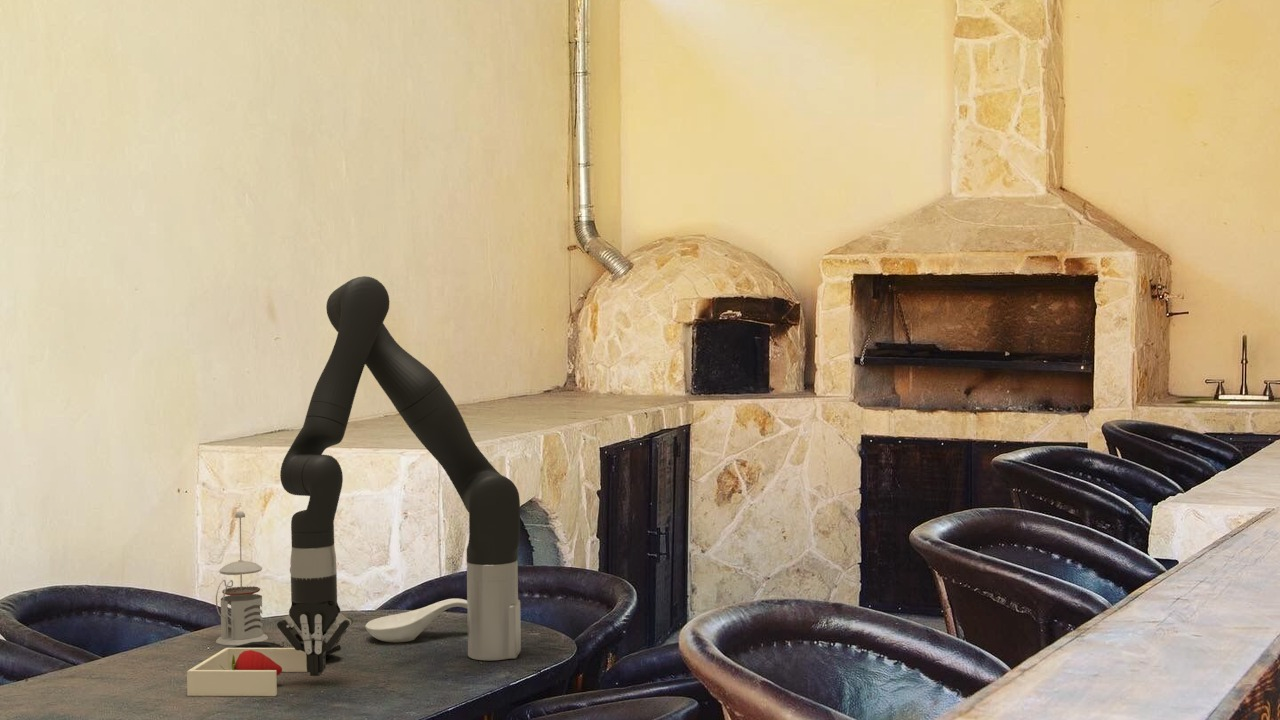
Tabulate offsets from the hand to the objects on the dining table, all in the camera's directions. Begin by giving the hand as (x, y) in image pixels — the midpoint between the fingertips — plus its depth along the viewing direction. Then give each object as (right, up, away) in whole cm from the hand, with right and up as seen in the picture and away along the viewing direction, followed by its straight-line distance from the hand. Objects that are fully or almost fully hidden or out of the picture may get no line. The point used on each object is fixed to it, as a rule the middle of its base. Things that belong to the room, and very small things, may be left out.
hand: (316, 674), depth 220 cm
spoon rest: (+13, -1, +34) cm, 37 cm away
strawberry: (-5, +1, -2) cm, 5 cm away
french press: (-23, -2, +33) cm, 40 cm away
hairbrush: (-11, -2, +20) cm, 23 cm away
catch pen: (-11, -1, 0) cm, 11 cm away
